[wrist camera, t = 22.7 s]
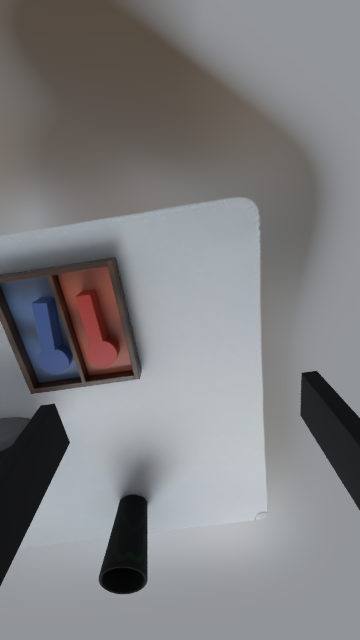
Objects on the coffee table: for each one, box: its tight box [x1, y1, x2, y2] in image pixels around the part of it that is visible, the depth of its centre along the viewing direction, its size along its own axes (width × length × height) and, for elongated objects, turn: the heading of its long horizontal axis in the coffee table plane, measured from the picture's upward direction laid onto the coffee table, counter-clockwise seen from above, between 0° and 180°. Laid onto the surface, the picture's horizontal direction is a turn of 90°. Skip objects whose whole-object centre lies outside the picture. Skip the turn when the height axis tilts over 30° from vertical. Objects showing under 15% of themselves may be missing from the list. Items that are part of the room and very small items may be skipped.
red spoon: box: [75, 290, 119, 367], centre depth 37 cm, size 11×4×3 cm, turn 8°
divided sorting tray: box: [0, 258, 141, 394], centre depth 38 cm, size 18×17×2 cm
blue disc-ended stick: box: [32, 298, 73, 374], centre depth 37 cm, size 11×4×3 cm, turn 179°
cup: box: [99, 495, 147, 594], centre depth 47 cm, size 8×8×12 cm
